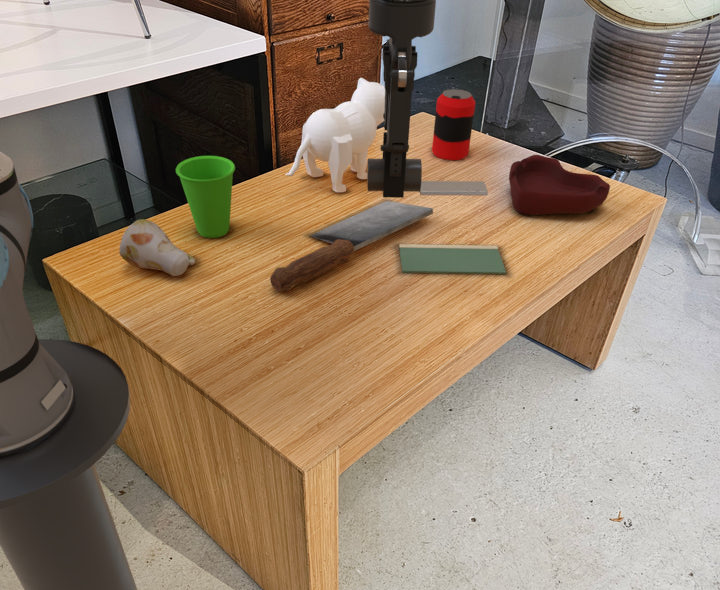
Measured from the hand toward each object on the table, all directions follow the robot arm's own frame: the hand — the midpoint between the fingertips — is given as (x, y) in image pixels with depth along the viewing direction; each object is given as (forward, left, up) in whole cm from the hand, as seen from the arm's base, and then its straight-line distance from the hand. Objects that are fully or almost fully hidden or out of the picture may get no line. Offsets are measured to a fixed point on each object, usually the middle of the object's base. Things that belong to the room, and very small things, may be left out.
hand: (392, 187), depth 89 cm
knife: (+4, +2, 0) cm, 5 cm away
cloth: (+5, +11, -15) cm, 20 cm away
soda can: (-13, +50, -15) cm, 54 cm away
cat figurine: (-24, +26, -15) cm, 39 cm away
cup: (-32, -2, -15) cm, 35 cm away
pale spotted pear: (-31, -15, -15) cm, 37 cm away
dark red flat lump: (+11, +39, -15) cm, 43 cm away
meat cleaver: (-12, +6, -16) cm, 20 cm away
